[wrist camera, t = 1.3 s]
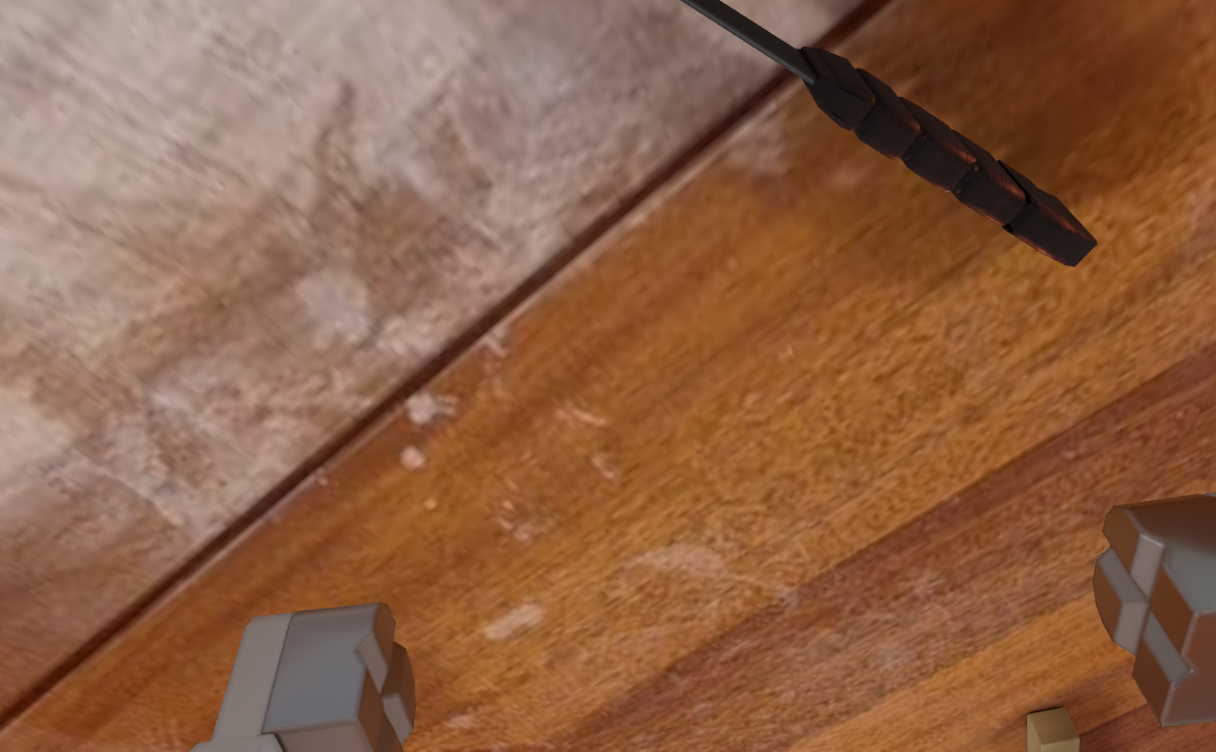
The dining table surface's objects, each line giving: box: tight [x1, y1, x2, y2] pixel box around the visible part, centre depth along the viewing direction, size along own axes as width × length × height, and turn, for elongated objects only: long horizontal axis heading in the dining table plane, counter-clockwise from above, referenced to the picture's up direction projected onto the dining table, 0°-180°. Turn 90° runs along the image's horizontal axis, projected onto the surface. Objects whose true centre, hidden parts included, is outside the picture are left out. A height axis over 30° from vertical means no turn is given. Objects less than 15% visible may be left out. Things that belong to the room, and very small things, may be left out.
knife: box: [681, 0, 1097, 267], centre depth 21 cm, size 17×1×3 cm, turn 58°
